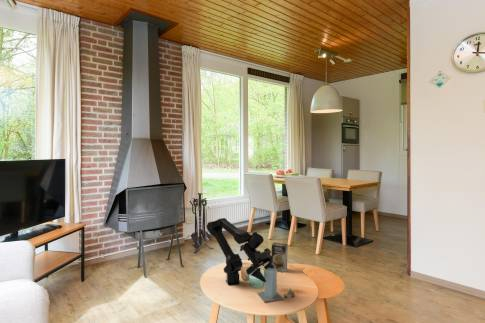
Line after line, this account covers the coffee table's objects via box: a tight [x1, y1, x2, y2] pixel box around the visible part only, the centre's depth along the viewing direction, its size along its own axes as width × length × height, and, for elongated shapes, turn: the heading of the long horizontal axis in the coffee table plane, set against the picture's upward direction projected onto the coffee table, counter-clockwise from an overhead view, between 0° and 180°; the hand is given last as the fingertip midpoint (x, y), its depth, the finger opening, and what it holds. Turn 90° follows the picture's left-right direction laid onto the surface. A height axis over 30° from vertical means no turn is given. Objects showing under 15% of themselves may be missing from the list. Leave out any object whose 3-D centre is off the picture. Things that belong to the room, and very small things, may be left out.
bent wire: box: [283, 287, 295, 299], centre depth 154 cm, size 6×5×3 cm
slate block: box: [263, 268, 278, 298], centre depth 152 cm, size 5×5×13 cm
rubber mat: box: [257, 291, 285, 303], centre depth 153 cm, size 10×10×1 cm
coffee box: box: [270, 242, 288, 273], centre depth 189 cm, size 9×6×16 cm
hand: (270, 279), depth 153 cm, fingers open, 9 cm apart
